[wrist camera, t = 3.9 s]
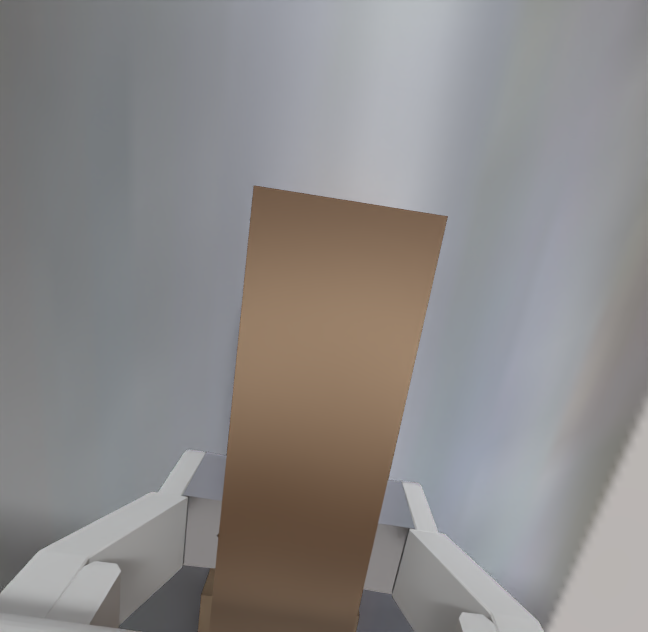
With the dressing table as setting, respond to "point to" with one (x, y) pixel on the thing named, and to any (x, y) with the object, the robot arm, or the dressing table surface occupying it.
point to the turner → (316, 406)
